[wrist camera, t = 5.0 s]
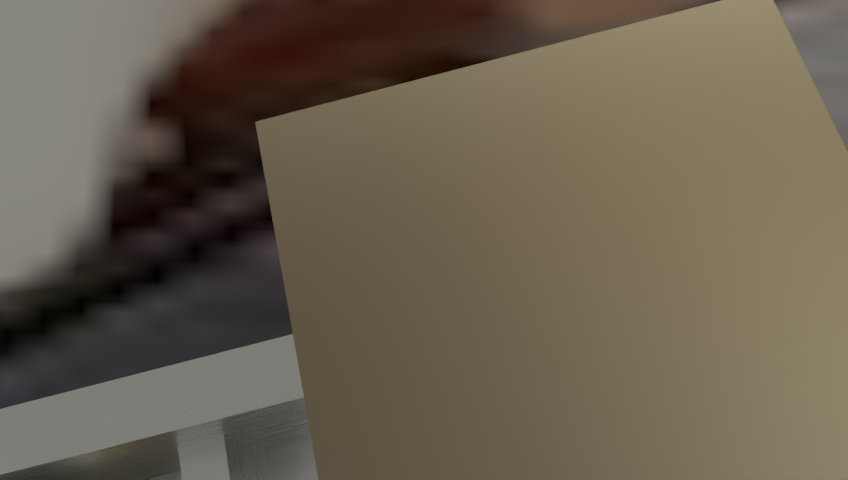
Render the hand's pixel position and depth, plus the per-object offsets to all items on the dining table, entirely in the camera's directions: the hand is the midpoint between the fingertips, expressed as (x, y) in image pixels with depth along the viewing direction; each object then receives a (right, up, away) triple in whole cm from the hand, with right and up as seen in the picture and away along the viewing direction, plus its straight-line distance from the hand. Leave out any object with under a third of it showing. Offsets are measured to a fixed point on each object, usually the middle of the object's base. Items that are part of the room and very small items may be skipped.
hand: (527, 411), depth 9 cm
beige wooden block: (+1, -3, +5) cm, 6 cm away
